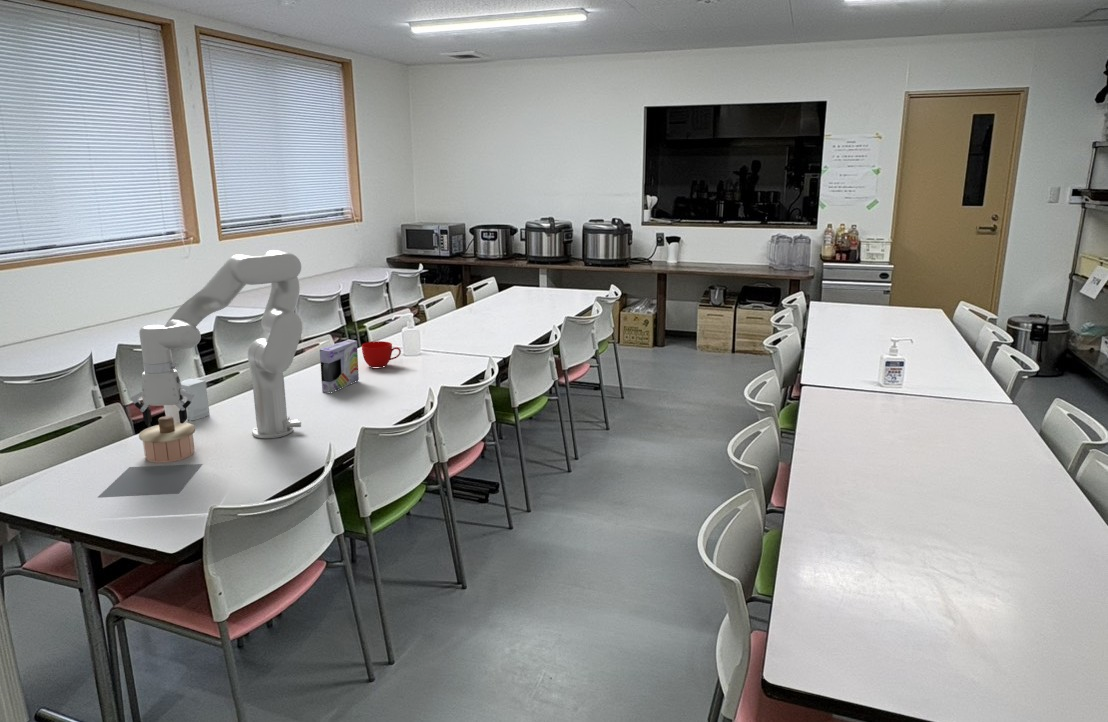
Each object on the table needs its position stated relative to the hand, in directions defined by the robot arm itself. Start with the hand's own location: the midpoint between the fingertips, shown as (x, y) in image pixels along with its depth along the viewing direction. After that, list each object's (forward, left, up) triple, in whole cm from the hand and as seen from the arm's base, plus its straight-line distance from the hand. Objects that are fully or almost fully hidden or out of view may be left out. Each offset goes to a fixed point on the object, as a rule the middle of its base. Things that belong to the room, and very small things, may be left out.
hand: (166, 422), depth 214 cm
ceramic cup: (-55, -97, -11) cm, 112 cm away
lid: (0, 0, -4) cm, 4 cm away
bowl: (0, 0, -10) cm, 10 cm away
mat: (-2, +19, -10) cm, 22 cm away
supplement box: (+5, -36, -11) cm, 38 cm away
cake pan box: (-41, -67, -11) cm, 79 cm away
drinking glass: (+3, -17, -11) cm, 20 cm away
